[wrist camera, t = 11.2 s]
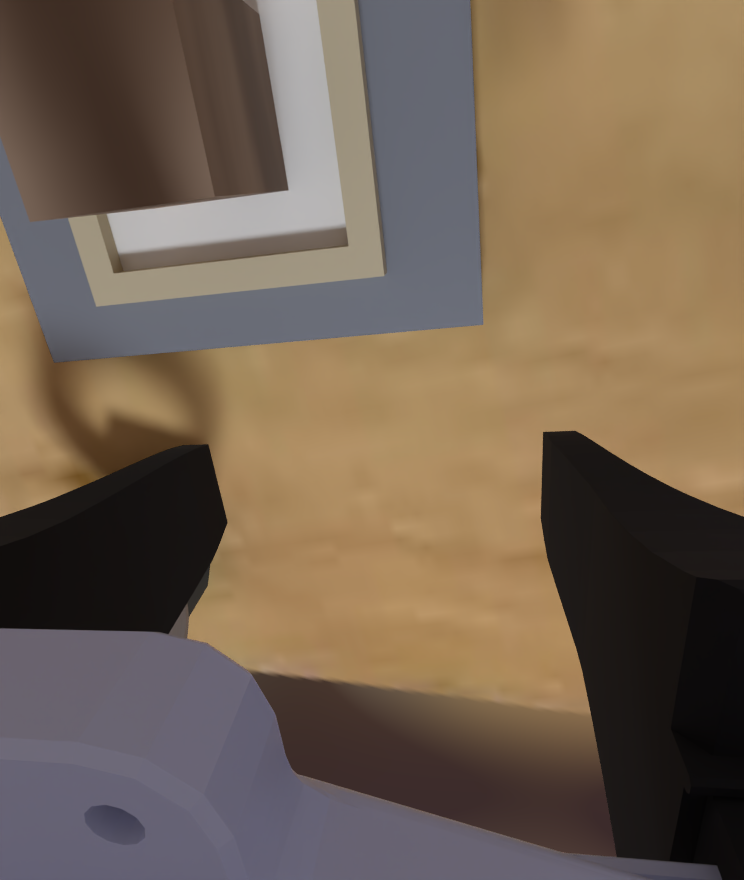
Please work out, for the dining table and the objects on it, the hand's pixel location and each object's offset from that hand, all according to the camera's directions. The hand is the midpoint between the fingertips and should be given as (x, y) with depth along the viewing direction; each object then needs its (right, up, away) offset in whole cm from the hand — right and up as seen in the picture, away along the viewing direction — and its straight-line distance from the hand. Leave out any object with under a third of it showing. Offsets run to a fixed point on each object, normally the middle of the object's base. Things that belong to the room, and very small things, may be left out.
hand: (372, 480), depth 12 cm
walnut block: (-5, +11, +5) cm, 13 cm away
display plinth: (-5, +11, +7) cm, 14 cm away
